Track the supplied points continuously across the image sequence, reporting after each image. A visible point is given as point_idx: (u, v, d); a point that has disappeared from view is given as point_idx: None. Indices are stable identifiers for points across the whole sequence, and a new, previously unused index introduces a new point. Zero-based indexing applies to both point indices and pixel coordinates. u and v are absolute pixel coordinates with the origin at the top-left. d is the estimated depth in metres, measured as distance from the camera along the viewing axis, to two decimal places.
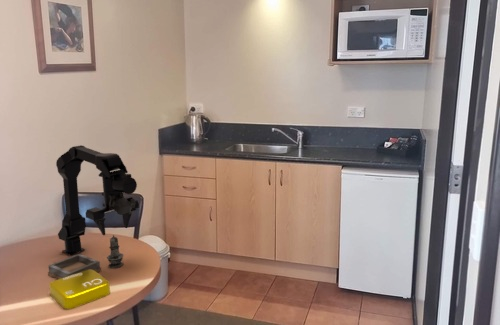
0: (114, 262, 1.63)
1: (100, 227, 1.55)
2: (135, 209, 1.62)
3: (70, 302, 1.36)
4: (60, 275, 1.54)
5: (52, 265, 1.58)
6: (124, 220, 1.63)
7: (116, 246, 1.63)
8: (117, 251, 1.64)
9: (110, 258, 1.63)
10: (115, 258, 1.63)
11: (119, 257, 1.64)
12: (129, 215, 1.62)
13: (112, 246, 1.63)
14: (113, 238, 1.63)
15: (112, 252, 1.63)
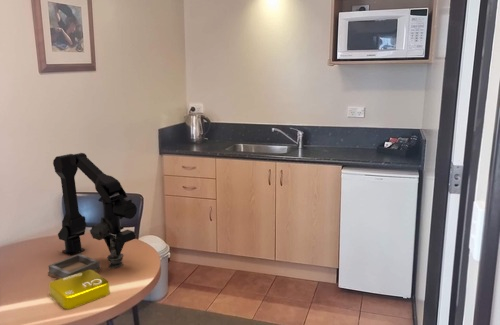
0: (114, 262, 1.63)
1: None
2: (115, 241, 1.58)
3: (70, 302, 1.36)
4: (60, 275, 1.54)
5: (52, 265, 1.58)
6: None
7: None
8: None
9: (110, 258, 1.63)
10: (115, 258, 1.63)
11: (119, 257, 1.64)
12: (115, 244, 1.61)
13: (112, 246, 1.63)
14: (113, 238, 1.63)
15: (112, 252, 1.63)
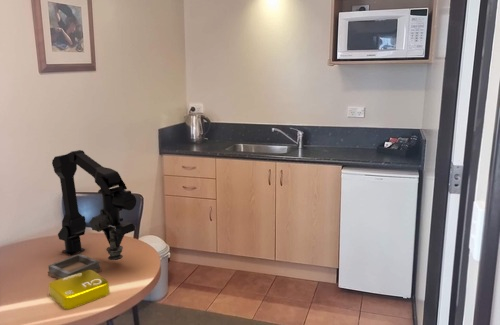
0: (113, 254, 1.62)
1: None
2: (114, 233, 1.58)
3: (70, 302, 1.35)
4: (60, 275, 1.54)
5: (52, 265, 1.58)
6: None
7: None
8: None
9: (110, 250, 1.62)
10: (114, 250, 1.62)
11: (118, 249, 1.63)
12: (115, 236, 1.60)
13: (111, 238, 1.62)
14: (112, 230, 1.62)
15: (111, 244, 1.63)
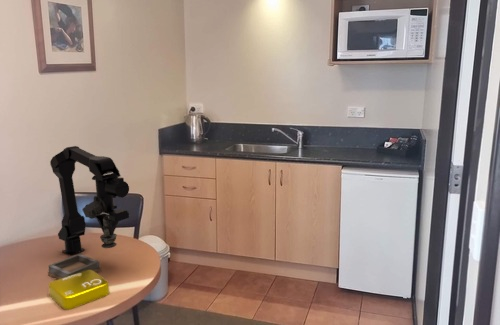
0: (107, 242, 1.61)
1: None
2: (108, 220, 1.56)
3: (70, 302, 1.35)
4: (60, 275, 1.54)
5: (52, 265, 1.58)
6: None
7: None
8: None
9: (103, 238, 1.60)
10: (108, 238, 1.60)
11: (112, 237, 1.61)
12: (108, 223, 1.59)
13: (105, 225, 1.60)
14: (106, 217, 1.60)
15: (105, 232, 1.61)
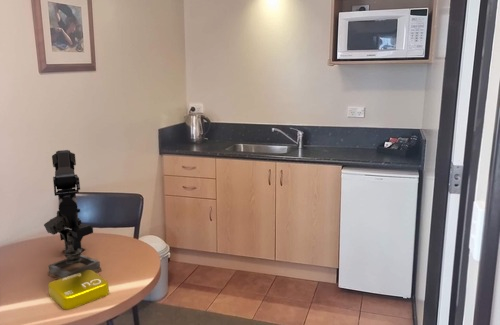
0: (71, 257, 1.56)
1: None
2: (71, 235, 1.52)
3: (69, 302, 1.35)
4: (60, 275, 1.54)
5: (52, 265, 1.58)
6: None
7: None
8: None
9: (67, 254, 1.56)
10: (72, 253, 1.56)
11: (76, 252, 1.57)
12: (72, 239, 1.54)
13: (69, 241, 1.56)
14: (70, 232, 1.56)
15: (69, 247, 1.56)
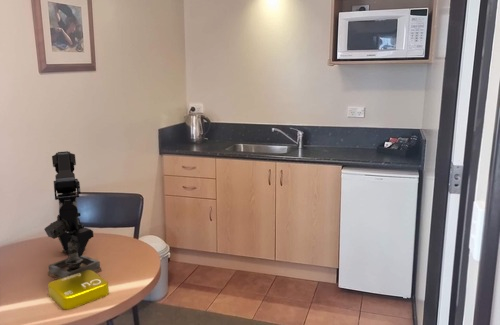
0: (72, 266, 1.57)
1: None
2: (75, 241, 1.50)
3: (69, 302, 1.35)
4: (60, 275, 1.54)
5: (52, 265, 1.58)
6: None
7: (74, 250, 1.57)
8: (75, 255, 1.58)
9: (68, 263, 1.57)
10: (73, 262, 1.57)
11: (77, 261, 1.57)
12: (77, 244, 1.53)
13: (70, 250, 1.57)
14: (71, 242, 1.57)
15: (70, 256, 1.57)
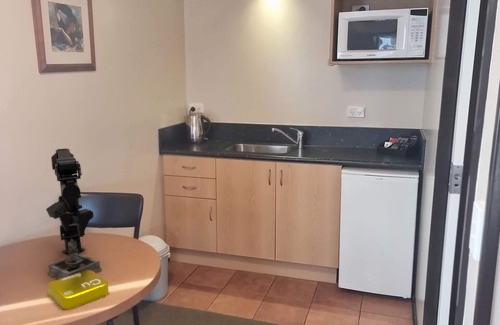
0: (72, 266, 1.57)
1: None
2: (76, 221, 1.55)
3: (69, 302, 1.35)
4: (60, 275, 1.54)
5: (52, 265, 1.58)
6: None
7: (74, 250, 1.57)
8: (75, 255, 1.58)
9: (68, 263, 1.57)
10: (73, 262, 1.57)
11: (77, 261, 1.57)
12: (77, 225, 1.58)
13: (70, 250, 1.57)
14: (71, 241, 1.57)
15: (70, 256, 1.57)
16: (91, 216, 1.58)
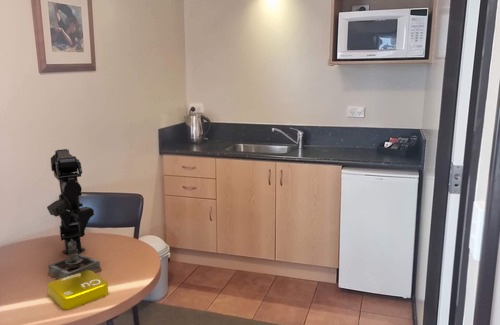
0: (72, 267, 1.57)
1: None
2: (77, 219, 1.57)
3: (69, 302, 1.35)
4: (60, 275, 1.54)
5: (52, 265, 1.58)
6: None
7: (74, 250, 1.57)
8: (75, 255, 1.58)
9: (68, 263, 1.57)
10: (73, 262, 1.57)
11: (77, 261, 1.57)
12: (78, 223, 1.59)
13: (70, 250, 1.57)
14: (71, 242, 1.57)
15: (70, 256, 1.57)
16: (92, 214, 1.59)
